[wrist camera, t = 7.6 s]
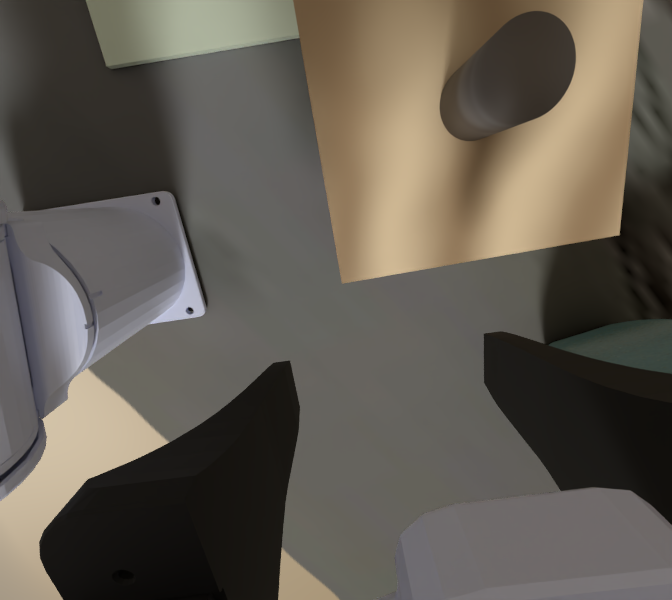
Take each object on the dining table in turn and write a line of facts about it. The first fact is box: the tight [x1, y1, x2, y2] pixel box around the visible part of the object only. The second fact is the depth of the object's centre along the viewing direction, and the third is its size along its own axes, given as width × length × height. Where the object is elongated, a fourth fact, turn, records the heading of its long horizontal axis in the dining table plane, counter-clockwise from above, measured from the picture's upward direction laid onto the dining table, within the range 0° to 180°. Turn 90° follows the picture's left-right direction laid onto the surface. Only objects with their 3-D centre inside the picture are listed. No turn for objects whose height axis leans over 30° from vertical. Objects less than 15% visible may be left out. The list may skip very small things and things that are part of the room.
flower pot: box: [549, 319, 672, 374], centre depth 20 cm, size 9×9×9 cm
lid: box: [293, 0, 643, 283], centre depth 13 cm, size 14×14×5 cm
